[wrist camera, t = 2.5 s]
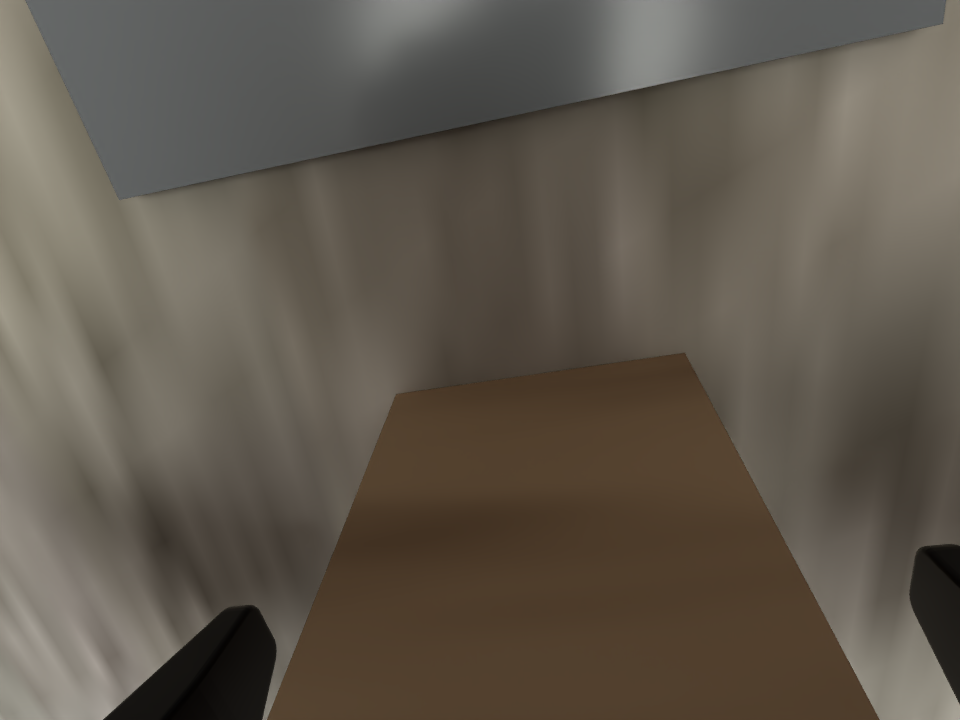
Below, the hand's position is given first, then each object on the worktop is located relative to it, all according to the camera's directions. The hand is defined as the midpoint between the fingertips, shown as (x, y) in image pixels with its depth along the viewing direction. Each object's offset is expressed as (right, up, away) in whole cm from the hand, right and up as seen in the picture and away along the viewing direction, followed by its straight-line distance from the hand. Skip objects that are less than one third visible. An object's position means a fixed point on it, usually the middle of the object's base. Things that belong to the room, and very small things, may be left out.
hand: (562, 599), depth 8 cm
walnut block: (0, +1, +2) cm, 2 cm away
